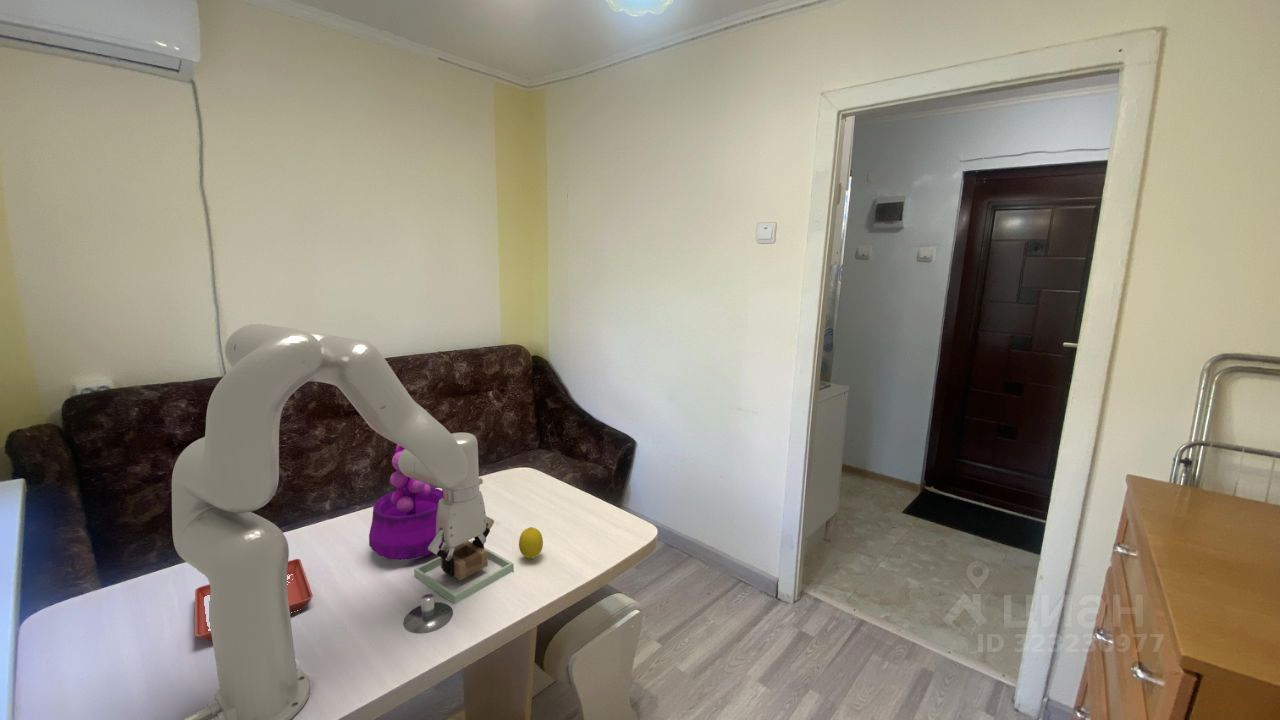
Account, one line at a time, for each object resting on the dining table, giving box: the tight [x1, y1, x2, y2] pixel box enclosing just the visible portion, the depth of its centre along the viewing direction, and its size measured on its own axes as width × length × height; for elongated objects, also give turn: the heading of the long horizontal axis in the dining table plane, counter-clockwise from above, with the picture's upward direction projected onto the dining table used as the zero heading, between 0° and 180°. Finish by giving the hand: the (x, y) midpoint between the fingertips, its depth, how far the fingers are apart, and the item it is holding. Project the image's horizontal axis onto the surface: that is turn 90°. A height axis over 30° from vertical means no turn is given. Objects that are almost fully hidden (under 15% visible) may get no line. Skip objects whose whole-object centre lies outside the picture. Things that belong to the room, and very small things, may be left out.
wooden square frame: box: [440, 540, 489, 581], centre depth 116 cm, size 7×7×4 cm
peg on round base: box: [402, 593, 454, 635], centre depth 102 cm, size 9×9×5 cm
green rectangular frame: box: [413, 540, 515, 605], centre depth 116 cm, size 15×15×2 cm
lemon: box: [518, 526, 544, 560], centre depth 123 cm, size 6×6×8 cm
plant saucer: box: [194, 558, 314, 641], centre depth 105 cm, size 18×18×3 cm
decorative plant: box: [368, 444, 444, 561], centre depth 124 cm, size 19×18×30 cm
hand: (464, 565), depth 116 cm, fingers closed on wooden square frame, 6 cm apart
